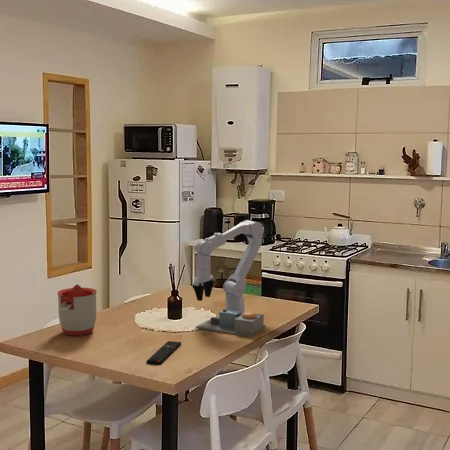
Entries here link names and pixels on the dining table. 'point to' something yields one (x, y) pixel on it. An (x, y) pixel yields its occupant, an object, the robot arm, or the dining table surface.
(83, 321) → the citrus juicer
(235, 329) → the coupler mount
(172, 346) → the remote control
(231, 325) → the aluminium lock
